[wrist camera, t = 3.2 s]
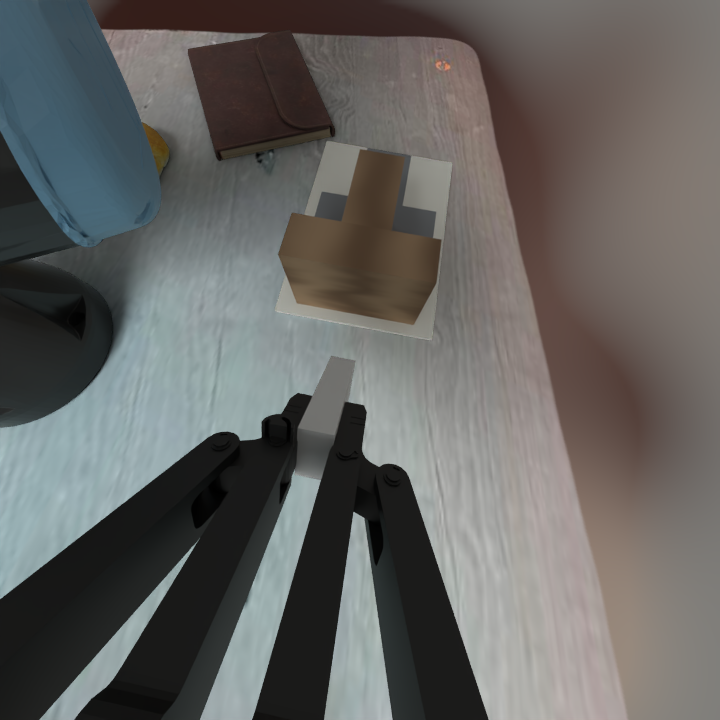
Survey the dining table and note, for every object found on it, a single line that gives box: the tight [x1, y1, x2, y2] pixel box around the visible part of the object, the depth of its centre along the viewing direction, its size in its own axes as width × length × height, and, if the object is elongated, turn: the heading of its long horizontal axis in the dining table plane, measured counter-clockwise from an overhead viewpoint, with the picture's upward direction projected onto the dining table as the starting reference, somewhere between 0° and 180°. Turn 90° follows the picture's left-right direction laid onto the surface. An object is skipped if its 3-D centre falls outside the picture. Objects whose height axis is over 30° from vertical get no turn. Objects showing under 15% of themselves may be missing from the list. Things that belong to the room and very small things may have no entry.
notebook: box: [188, 30, 335, 161], centre depth 36 cm, size 15×20×2 cm
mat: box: [275, 141, 452, 341], centre depth 31 cm, size 16×24×1 cm, turn 169°
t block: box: [278, 149, 442, 325], centre depth 26 cm, size 12×12×8 cm
